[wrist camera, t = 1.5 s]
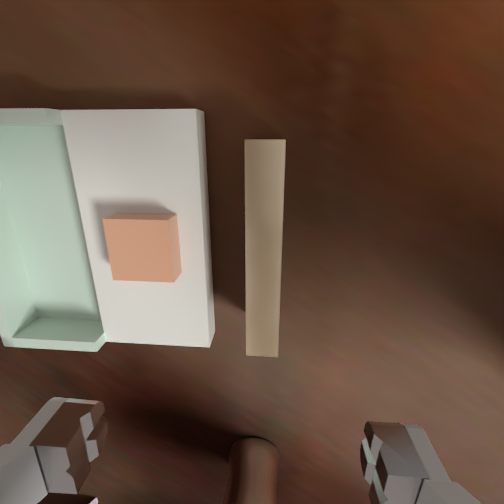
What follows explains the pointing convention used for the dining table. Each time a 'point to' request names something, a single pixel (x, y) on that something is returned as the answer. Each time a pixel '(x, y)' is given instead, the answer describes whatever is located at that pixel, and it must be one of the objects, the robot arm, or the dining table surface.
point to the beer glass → (252, 472)
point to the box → (43, 239)
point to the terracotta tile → (143, 246)
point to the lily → (94, 501)
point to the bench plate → (146, 201)
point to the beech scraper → (263, 243)
